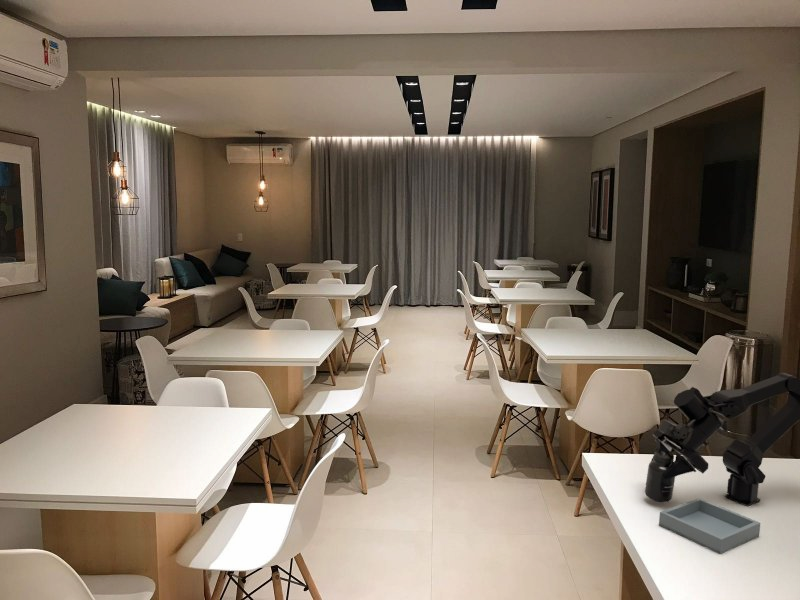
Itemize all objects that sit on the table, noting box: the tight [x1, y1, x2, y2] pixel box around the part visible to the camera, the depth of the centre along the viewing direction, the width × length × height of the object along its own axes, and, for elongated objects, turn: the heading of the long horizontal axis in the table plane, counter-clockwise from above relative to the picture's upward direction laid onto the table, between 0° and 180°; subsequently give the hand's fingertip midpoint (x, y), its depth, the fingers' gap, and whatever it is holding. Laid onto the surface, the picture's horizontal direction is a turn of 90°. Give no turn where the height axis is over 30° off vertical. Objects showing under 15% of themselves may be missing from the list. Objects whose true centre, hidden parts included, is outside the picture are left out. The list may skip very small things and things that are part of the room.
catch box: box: [658, 497, 761, 555], centre depth 163 cm, size 16×16×4 cm
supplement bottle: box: [644, 450, 676, 503], centre depth 177 cm, size 7×7×12 cm
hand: (656, 472), depth 176 cm, fingers closed on supplement bottle, 7 cm apart
